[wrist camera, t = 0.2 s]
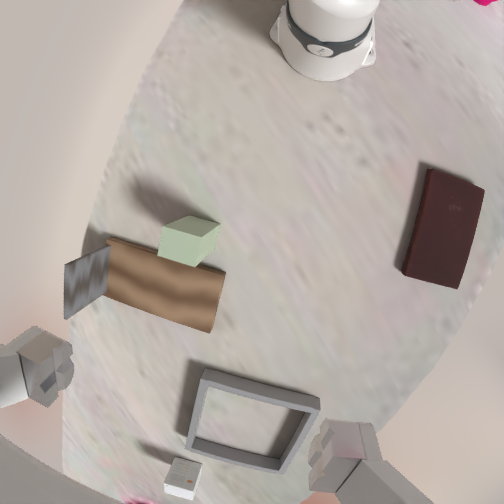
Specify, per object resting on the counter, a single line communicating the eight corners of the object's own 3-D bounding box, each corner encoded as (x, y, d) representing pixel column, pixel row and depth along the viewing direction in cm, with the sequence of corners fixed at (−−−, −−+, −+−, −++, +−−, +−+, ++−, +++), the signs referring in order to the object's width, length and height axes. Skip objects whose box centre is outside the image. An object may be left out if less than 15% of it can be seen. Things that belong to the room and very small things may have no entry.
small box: (174, 466, 74) (163, 492, 64) (174, 456, 73) (163, 482, 63) (201, 474, 74) (192, 501, 64) (203, 463, 72) (193, 491, 62)
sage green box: (188, 215, 56) (162, 226, 45) (220, 224, 56) (201, 237, 44) (183, 239, 58) (157, 255, 46) (214, 248, 57) (195, 267, 46)
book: (398, 271, 54) (404, 276, 51) (425, 168, 49) (432, 168, 46) (451, 284, 54) (459, 290, 50) (478, 188, 49) (487, 189, 45)
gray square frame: (205, 366, 64) (200, 377, 60) (320, 397, 62) (320, 409, 58) (188, 438, 70) (184, 449, 66) (283, 463, 69) (282, 475, 65)
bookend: (111, 237, 59) (61, 257, 44) (226, 272, 58) (202, 307, 43) (105, 291, 63) (61, 322, 47) (212, 328, 61) (187, 375, 46)
